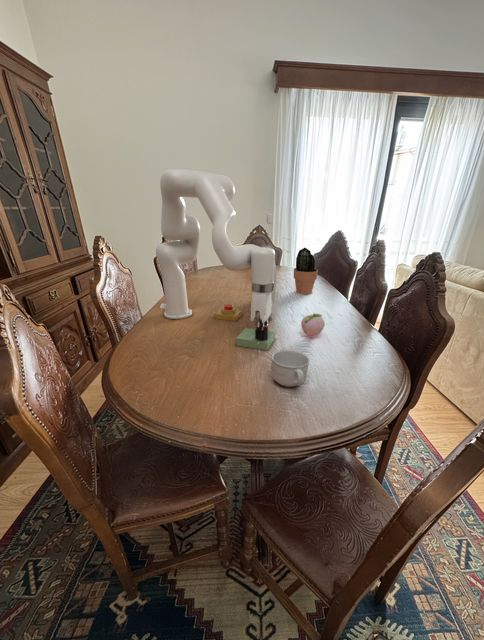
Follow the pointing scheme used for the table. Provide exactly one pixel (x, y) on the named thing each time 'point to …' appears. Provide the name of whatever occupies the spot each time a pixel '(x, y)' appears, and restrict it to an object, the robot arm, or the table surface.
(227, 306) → the button
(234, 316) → the button block
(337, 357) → the table surface
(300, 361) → the teacup
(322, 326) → the decorative fruit
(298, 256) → the potted plant
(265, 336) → the black rectangular slab
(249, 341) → the panel
